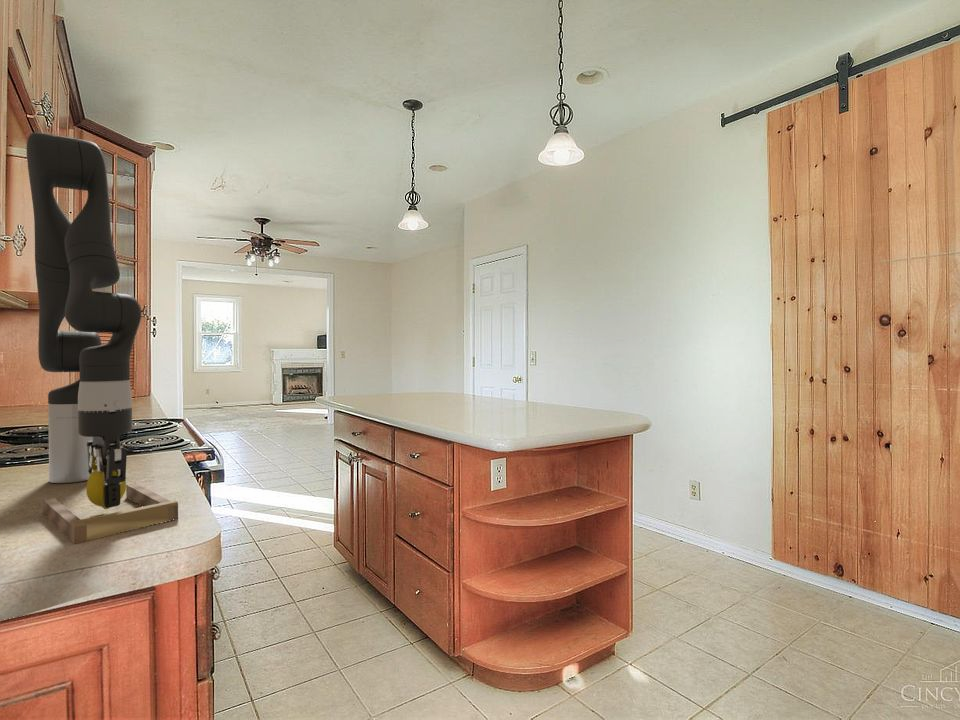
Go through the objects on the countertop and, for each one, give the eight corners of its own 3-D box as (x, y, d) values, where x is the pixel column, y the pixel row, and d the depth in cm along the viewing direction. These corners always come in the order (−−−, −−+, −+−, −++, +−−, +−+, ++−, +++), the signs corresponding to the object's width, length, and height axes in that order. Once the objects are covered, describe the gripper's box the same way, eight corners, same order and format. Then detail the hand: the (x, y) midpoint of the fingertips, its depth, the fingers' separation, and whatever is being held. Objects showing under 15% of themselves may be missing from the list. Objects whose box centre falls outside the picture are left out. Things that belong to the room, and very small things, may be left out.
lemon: (105, 515, 84) (104, 467, 83) (78, 513, 85) (77, 466, 85) (134, 505, 89) (133, 460, 89) (108, 503, 90) (107, 459, 90)
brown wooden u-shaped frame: (42, 513, 88) (42, 496, 88) (135, 495, 98) (135, 480, 98) (74, 543, 74) (73, 523, 74) (178, 519, 85) (178, 501, 85)
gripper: (68, 405, 88) (69, 500, 88) (90, 411, 79) (91, 517, 79) (118, 402, 94) (119, 491, 94) (144, 407, 85) (145, 506, 85)
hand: (106, 502), depth 87 cm, fingers closed on lemon, 5 cm apart
